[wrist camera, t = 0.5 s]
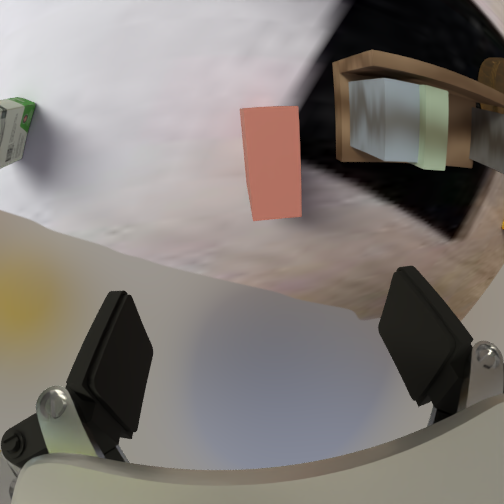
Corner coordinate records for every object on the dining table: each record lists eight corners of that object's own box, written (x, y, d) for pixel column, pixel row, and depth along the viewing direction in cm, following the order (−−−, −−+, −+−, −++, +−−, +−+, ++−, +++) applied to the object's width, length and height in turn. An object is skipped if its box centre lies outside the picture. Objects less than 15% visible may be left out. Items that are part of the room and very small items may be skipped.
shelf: (332, 62, 25) (377, 47, 15) (466, 91, 25) (520, 101, 15) (336, 158, 31) (379, 184, 21) (463, 164, 31) (513, 189, 22)
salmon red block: (239, 108, 27) (243, 108, 18) (275, 106, 27) (298, 106, 18) (246, 183, 32) (253, 220, 22) (280, 180, 32) (301, 216, 22)
